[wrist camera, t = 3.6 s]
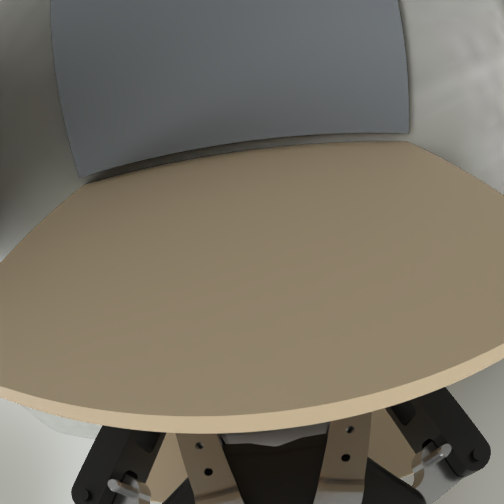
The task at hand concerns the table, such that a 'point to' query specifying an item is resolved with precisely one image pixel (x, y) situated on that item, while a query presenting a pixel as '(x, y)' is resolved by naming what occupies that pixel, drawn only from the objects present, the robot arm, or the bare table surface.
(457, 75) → the table surface
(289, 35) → the rubber mat
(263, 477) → the robot arm
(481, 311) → the open wooden box
